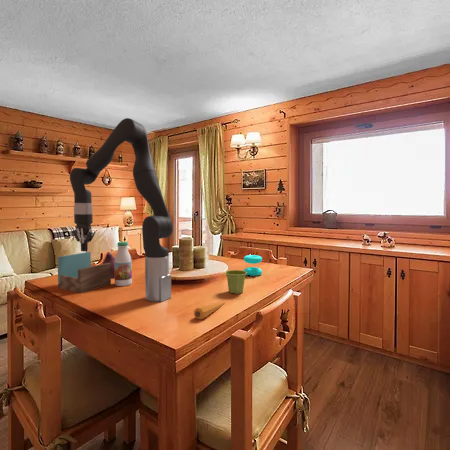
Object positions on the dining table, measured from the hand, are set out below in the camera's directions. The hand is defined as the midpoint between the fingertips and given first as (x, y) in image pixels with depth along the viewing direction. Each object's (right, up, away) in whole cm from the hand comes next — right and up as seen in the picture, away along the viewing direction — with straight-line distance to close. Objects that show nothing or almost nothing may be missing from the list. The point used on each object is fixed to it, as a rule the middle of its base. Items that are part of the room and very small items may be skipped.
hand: (84, 251), depth 138 cm
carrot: (+60, -19, -30) cm, 70 cm away
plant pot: (+69, -17, -7) cm, 71 cm away
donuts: (+79, -15, +26) cm, 85 cm away
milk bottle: (+16, -16, +5) cm, 24 cm away
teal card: (-7, -14, +4) cm, 16 cm away
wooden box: (0, -16, +1) cm, 16 cm away
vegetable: (+5, -15, +20) cm, 25 cm away
